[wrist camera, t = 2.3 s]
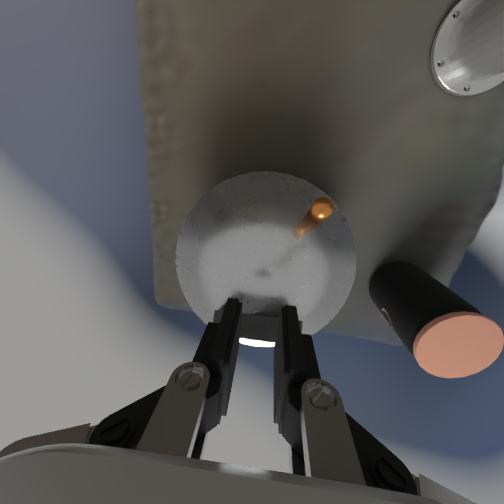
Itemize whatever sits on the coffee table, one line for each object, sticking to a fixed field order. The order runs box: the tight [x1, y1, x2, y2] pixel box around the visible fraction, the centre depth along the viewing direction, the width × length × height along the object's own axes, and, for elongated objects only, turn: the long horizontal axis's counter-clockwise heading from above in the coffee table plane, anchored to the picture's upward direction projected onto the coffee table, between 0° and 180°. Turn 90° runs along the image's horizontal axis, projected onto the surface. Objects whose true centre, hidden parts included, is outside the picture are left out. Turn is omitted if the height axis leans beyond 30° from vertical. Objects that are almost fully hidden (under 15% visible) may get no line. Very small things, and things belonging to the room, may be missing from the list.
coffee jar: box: [369, 262, 504, 378], centre depth 40 cm, size 11×11×18 cm
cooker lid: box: [176, 171, 356, 347], centre depth 27 cm, size 21×21×3 cm
